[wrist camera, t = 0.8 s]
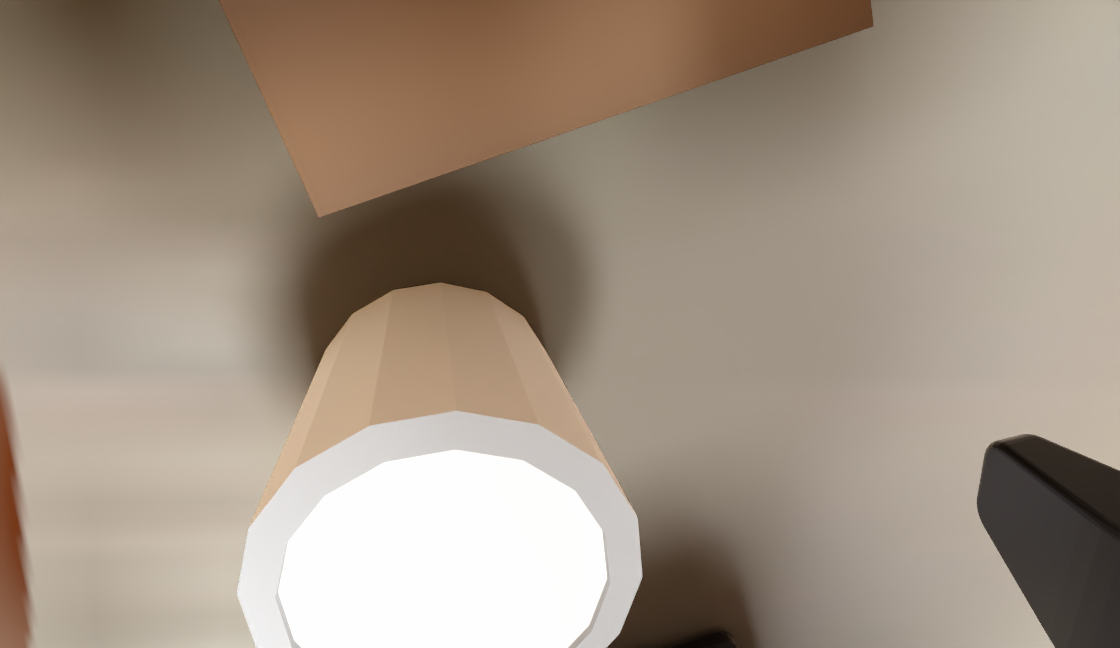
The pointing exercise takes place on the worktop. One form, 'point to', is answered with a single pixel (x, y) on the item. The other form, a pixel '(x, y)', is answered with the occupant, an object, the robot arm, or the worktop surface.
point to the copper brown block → (490, 73)
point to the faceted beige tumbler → (439, 493)
